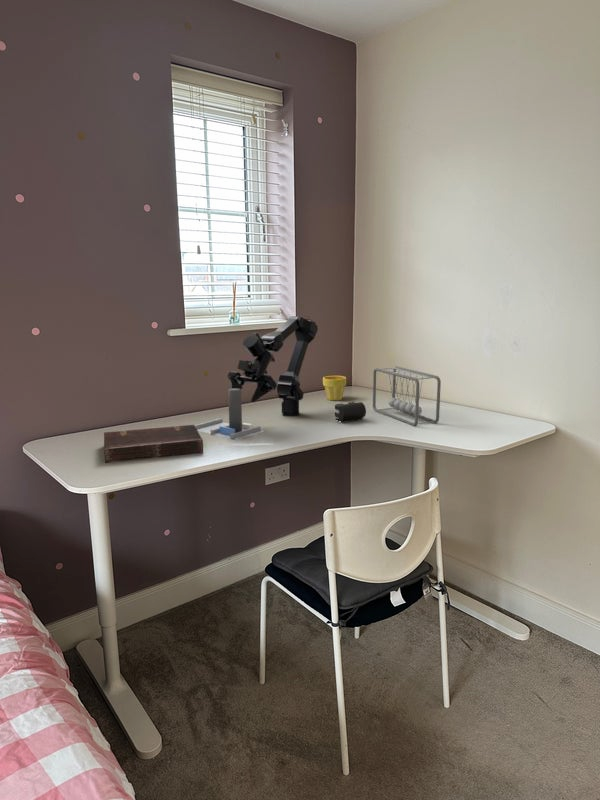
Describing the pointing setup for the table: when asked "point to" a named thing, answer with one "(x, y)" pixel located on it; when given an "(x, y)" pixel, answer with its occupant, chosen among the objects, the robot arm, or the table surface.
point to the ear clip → (247, 425)
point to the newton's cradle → (404, 405)
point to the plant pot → (334, 387)
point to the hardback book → (151, 443)
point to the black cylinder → (350, 411)
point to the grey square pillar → (235, 409)
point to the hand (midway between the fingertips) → (241, 400)
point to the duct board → (226, 429)
